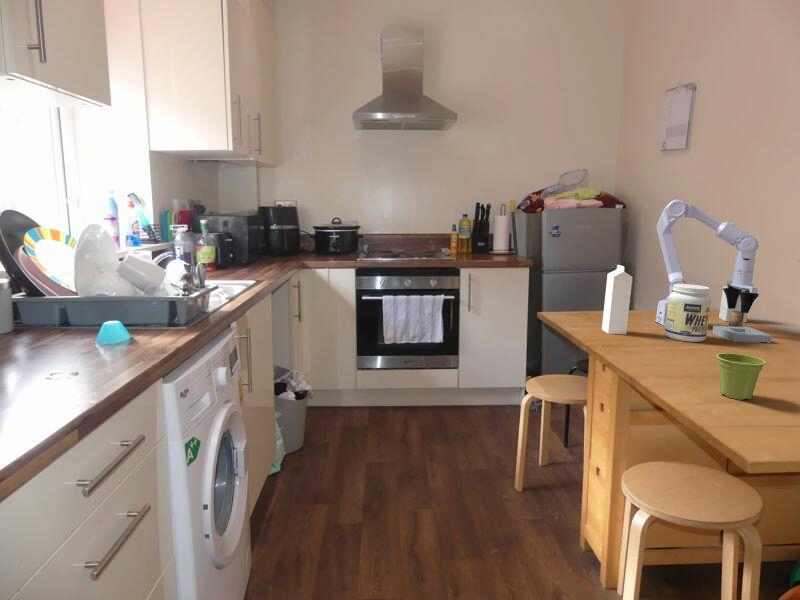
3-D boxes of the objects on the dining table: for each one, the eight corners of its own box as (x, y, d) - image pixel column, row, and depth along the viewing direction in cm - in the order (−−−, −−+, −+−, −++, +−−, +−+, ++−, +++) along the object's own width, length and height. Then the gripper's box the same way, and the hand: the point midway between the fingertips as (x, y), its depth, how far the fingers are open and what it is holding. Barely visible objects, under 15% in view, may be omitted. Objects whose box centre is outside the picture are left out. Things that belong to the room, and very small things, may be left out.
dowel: (732, 332, 193) (735, 312, 192) (725, 329, 197) (728, 310, 196) (743, 333, 193) (746, 313, 192) (736, 330, 197) (739, 310, 196)
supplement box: (746, 323, 211) (751, 289, 209) (725, 321, 212) (729, 288, 210) (739, 319, 218) (743, 286, 216) (718, 317, 219) (722, 285, 217)
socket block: (733, 341, 179) (734, 334, 179) (712, 333, 191) (713, 325, 191) (770, 343, 179) (771, 335, 179) (747, 334, 191) (748, 327, 191)
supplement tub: (680, 343, 175) (687, 289, 172) (655, 333, 187) (661, 283, 184) (715, 342, 177) (722, 289, 174) (688, 333, 189) (694, 283, 186)
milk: (607, 333, 184) (614, 266, 180) (601, 329, 190) (607, 264, 186) (626, 334, 184) (633, 267, 180) (619, 330, 190) (626, 264, 186)
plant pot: (710, 397, 125) (715, 359, 124) (712, 386, 133) (717, 350, 131) (760, 406, 120) (766, 367, 119) (759, 394, 128) (765, 357, 127)
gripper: (769, 274, 184) (763, 315, 187) (742, 269, 199) (736, 307, 201) (747, 273, 184) (741, 314, 187) (722, 268, 199) (717, 306, 201)
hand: (737, 310), depth 194 cm, fingers open, 7 cm apart
